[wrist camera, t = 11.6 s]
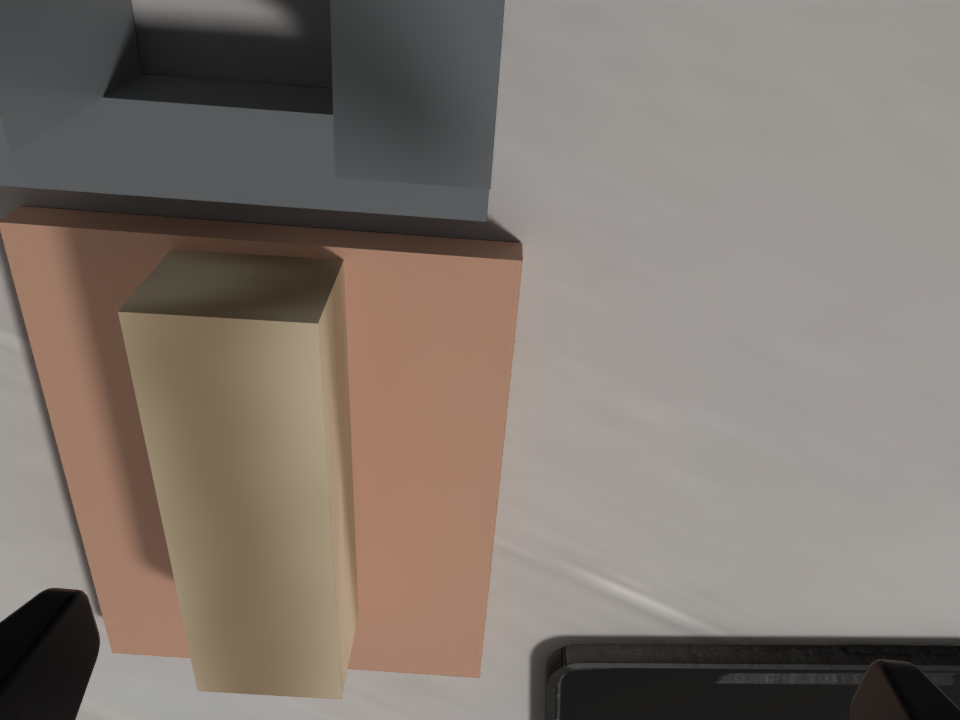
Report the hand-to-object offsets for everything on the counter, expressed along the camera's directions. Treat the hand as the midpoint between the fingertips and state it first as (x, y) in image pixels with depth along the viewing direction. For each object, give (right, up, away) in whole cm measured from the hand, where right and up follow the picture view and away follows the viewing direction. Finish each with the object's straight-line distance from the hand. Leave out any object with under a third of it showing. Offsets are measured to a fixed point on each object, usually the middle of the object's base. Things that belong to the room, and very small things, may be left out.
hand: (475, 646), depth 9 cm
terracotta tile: (-5, 0, +14) cm, 15 cm away
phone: (+10, -9, +20) cm, 24 cm away
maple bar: (-5, +1, +13) cm, 14 cm away
